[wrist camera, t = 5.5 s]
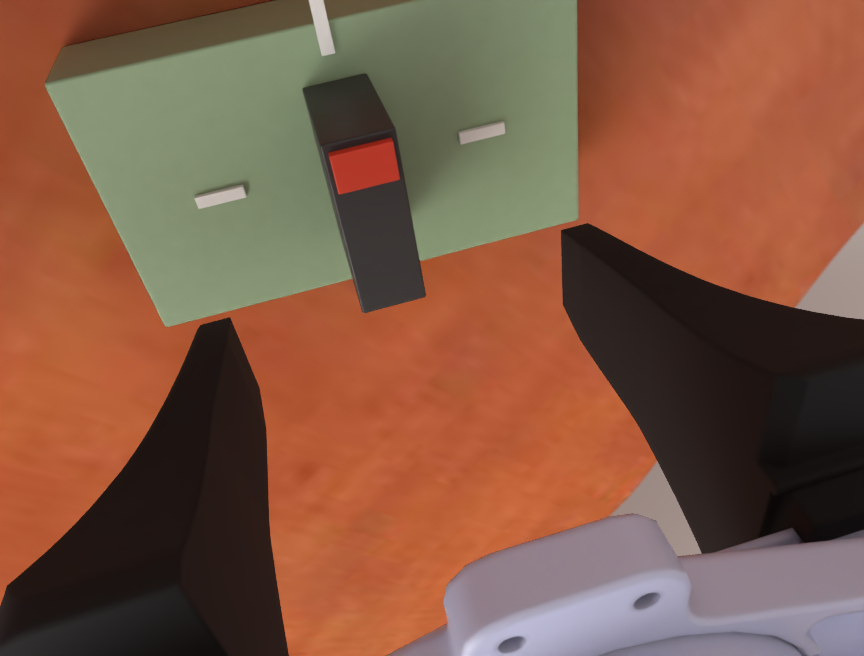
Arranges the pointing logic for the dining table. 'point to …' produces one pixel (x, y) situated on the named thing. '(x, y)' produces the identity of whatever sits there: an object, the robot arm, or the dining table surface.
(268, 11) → the green toggle switch panel
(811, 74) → the dining table surface
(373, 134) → the grey box red tab
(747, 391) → the robot arm
